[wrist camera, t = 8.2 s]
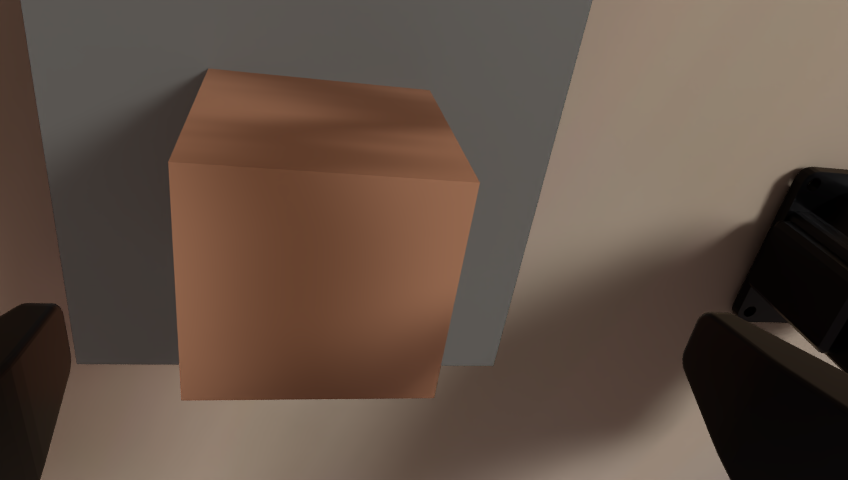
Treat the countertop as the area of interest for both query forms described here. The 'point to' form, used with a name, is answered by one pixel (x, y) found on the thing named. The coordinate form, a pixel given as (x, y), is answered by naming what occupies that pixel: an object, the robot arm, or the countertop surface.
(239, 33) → the plinth
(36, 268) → the countertop surface
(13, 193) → the countertop surface
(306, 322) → the cube
